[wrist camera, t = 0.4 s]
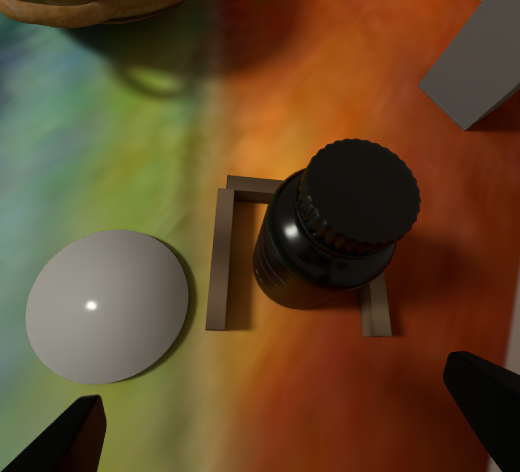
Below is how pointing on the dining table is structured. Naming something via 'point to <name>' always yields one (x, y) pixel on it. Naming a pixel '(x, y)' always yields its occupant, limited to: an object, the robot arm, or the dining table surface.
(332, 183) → the supplement bottle
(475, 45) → the perfume bottle
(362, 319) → the wooden u-shaped frame
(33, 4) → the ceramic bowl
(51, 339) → the coaster
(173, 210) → the dining table surface
